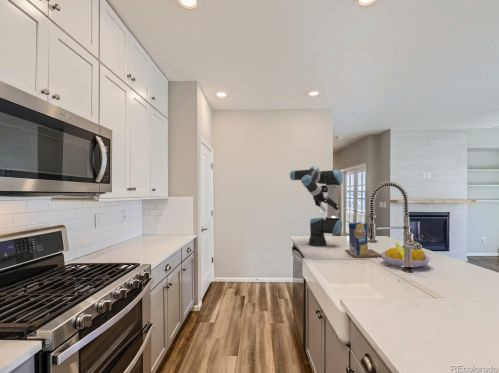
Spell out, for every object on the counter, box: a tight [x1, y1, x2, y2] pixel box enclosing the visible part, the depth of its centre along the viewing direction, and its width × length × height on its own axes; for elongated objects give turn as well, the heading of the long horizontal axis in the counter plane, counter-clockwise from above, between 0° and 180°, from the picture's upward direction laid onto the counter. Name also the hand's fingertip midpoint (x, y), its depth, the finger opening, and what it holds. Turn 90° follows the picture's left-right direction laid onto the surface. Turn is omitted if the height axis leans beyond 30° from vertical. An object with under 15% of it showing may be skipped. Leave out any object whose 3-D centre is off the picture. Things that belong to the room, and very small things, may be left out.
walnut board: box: [344, 249, 382, 259], centre depth 191 cm, size 20×20×1 cm
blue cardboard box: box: [348, 221, 369, 255], centre depth 190 cm, size 7×11×22 cm, turn 116°
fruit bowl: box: [379, 241, 431, 268], centre depth 165 cm, size 28×27×11 cm
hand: (331, 211), depth 199 cm, fingers open, 13 cm apart
